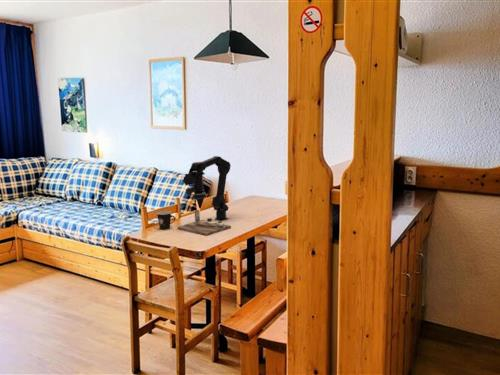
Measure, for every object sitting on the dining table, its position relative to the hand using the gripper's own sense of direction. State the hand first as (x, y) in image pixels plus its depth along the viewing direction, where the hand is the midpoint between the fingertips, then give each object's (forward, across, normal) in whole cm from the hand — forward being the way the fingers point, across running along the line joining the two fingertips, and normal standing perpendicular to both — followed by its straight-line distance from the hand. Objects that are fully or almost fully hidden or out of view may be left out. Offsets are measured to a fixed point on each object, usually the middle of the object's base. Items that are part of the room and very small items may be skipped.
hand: (200, 206), depth 282 cm
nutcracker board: (+12, +8, +2) cm, 15 cm away
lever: (+10, +9, +5) cm, 14 cm away
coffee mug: (+12, +4, -22) cm, 26 cm away
